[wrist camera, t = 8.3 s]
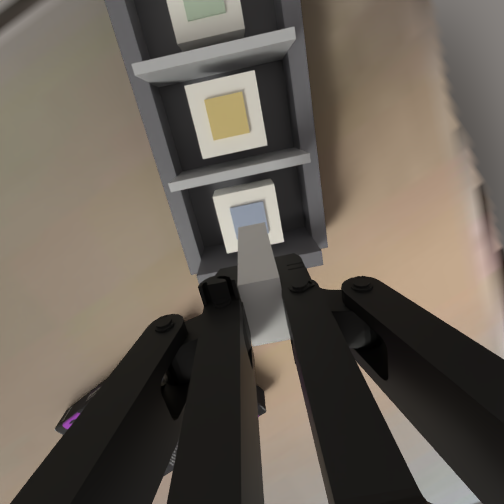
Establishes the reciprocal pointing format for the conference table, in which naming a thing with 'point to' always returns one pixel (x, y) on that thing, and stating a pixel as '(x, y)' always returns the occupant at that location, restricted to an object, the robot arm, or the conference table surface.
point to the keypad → (238, 163)
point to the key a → (205, 22)
